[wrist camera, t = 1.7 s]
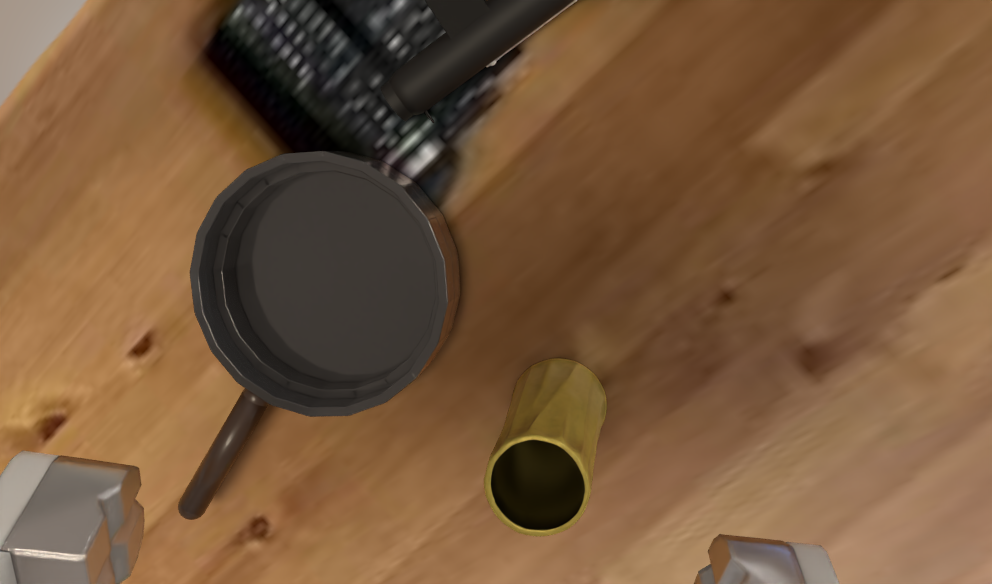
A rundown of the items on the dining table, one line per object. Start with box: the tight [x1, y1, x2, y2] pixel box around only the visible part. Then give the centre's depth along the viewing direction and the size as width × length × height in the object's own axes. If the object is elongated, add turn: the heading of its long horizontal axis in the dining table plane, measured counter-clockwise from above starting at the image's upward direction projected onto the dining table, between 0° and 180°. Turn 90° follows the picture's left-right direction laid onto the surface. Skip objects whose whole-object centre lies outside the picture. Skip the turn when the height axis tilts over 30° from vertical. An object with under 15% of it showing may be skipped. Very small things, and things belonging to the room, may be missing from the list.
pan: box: [190, 151, 461, 417], centre depth 54 cm, size 16×16×4 cm
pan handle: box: [178, 388, 268, 520], centre depth 56 cm, size 11×2×2 cm, turn 148°
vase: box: [484, 358, 607, 537], centre depth 49 cm, size 6×6×14 cm
